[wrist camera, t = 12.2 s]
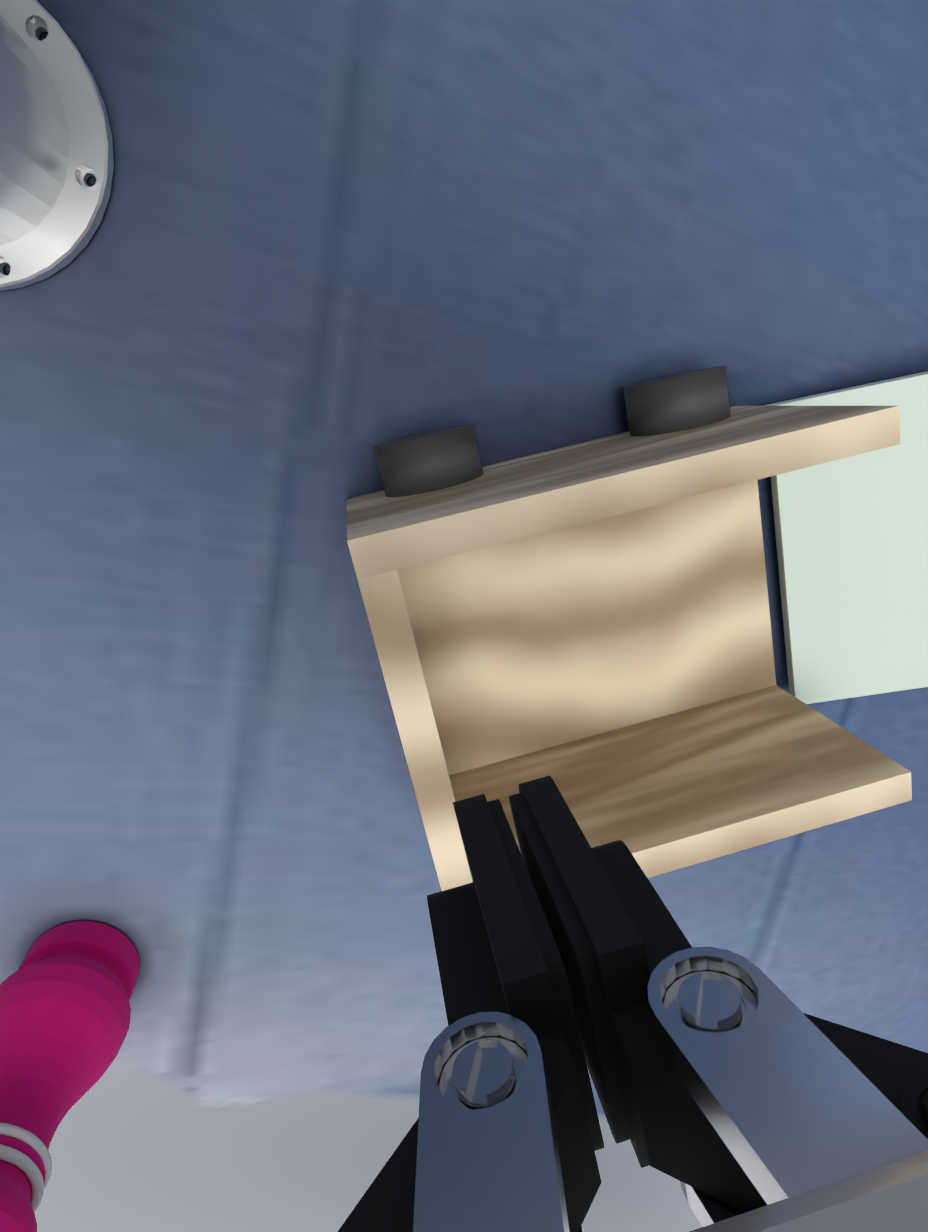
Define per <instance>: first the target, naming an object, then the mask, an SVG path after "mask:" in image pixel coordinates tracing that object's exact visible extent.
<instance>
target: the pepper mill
mask: <svg viewBox="0 0 928 1232" xmlns="http://www.w3.org/2000/svg"><path fill="white" fill-rule="evenodd" d="M139 968H140V965H139V956H138V954H137V951H136V948H135V947H134V945H133V944H132V942H131V941H130V940H129V938H128V937H126V936H125V935H124V934H123V933H121V932H120V931H119V930H118V929H115V928H113V927H111V926H109V925H106V924H102V923H98V922H94V921H74V922H69V923H65V924H61V925H59V926H56V927H54V928H52V929H50V930H48V931H47V932H45V933H44V934H43V935H41V936H40V937H39V938H38V939H37V940H36V941H35V943H34V944H33V946H32V947H31V949H30V950H29V952H28V954H27V956H26V957H25V959H24V961H23V963H22V964H21V966H20V968H19V970H18V971H16V972H15V973H13V974H12V975H11V976H9V977H8V978H7V979H6V980H5V981H4V982H3V983H2V984H1V985H0V1232H37V1223H36V1219H35V1214H34V1212H35V1210H36V1209H37V1208H38V1206H39V1204H40V1202H41V1199H42V1197H43V1191H44V1188H45V1186H46V1185H47V1183H48V1181H49V1178H50V1175H51V1170H52V1162H51V1156H50V1154H49V1151H48V1148H49V1144H50V1141H51V1140H52V1137H53V1135H54V1133H55V1131H56V1129H57V1127H58V1125H59V1123H60V1122H61V1120H62V1119H63V1117H64V1116H65V1115H66V1113H67V1112H68V1110H69V1109H70V1108H71V1107H72V1106H73V1105H74V1104H75V1103H76V1102H77V1101H78V1100H79V1099H80V1098H81V1097H82V1096H83V1095H84V1094H85V1093H86V1092H87V1091H88V1090H89V1089H90V1088H91V1087H92V1086H93V1085H94V1084H95V1083H96V1082H97V1081H98V1080H99V1079H100V1077H101V1076H102V1075H103V1074H104V1072H105V1071H106V1070H107V1068H108V1067H109V1066H110V1064H111V1063H112V1062H113V1060H114V1059H115V1057H116V1056H117V1054H118V1052H119V1049H120V1047H121V1045H122V1043H123V1041H124V1039H125V1037H126V1034H127V1031H128V1029H129V1024H130V1012H131V1010H130V1004H129V999H130V997H131V994H132V991H133V988H134V986H135V983H136V980H137V977H138V974H139Z"/></svg>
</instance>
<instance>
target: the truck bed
mask: <svg viewBox="0 0 928 1232" xmlns="http://www.w3.org/2000/svg"><path fill="white" fill-rule="evenodd" d="M623 390H624V397H625V404H626V411H627V418H628V425H629V432H624V433H620V434H616V435H612V436H608V437H604V438H599V439H595V440H591V441H587V442H583V443H579V444H574V445H570V446H566V447H562V448H558V449H553V450H549V451H545V452H541V453H537V454H533V455H528V456H524V457H520V458H516V459H512V460H508V461H503V462H499V463H495V464H491V465H487V466H482V463H481V459H480V454H479V449H478V444H477V439H476V434H475V430H474V425H473V424H467V425H460V426H454V427H449V428H444V429H439V430H434V431H429V432H425V433H420V434H416V435H412V436H408V437H404V438H400V439H396V440H393V441H389V442H386V443H382V444H379V445H377V446H375V447H374V451H375V455H376V459H377V463H378V467H379V471H380V475H381V479H382V483H383V487H384V490H382V491H378V492H374V493H370V494H366V495H361V496H357V497H353V498H349V499H346V520H347V543H348V546H349V550H350V554H351V558H352V561H353V565H354V569H355V572H356V576H357V580H358V583H359V587H360V591H361V594H362V598H363V602H364V606H365V609H366V613H367V617H368V620H369V624H370V628H371V631H372V635H373V639H374V642H375V646H376V650H377V654H378V657H379V661H380V665H381V668H382V672H383V676H384V679H385V683H386V687H387V690H388V694H389V698H390V702H391V705H392V709H393V713H394V716H395V720H396V724H397V727H398V731H399V735H400V738H401V742H402V746H403V749H404V753H405V757H406V761H407V764H408V768H409V772H410V775H411V779H412V783H413V786H414V790H415V794H416V797H417V801H418V805H419V809H420V812H421V816H422V820H423V823H424V827H425V831H426V834H427V838H428V842H429V845H430V849H431V853H432V857H433V860H434V864H435V868H436V871H437V875H438V879H439V882H440V886H441V890H442V891H445V890H448V889H452V888H455V887H459V886H462V885H465V884H469V883H472V882H473V881H472V877H471V873H470V869H469V865H468V861H467V857H466V853H465V849H464V845H463V841H462V837H461V833H460V829H459V826H458V822H457V818H456V814H455V810H454V806H453V802H456V801H460V800H463V799H467V798H470V797H474V796H478V795H481V794H485V797H486V800H487V802H489V801H493V800H496V799H499V800H500V802H501V805H502V807H503V810H504V812H505V815H506V817H507V820H508V822H509V825H510V828H511V830H512V833H513V835H514V838H515V840H516V843H517V845H518V848H519V850H520V846H519V842H518V838H517V833H516V829H515V824H514V820H513V816H512V811H511V807H510V802H509V796H511V795H514V794H518V793H519V784H520V783H524V782H528V781H531V780H535V779H538V778H542V777H545V776H549V775H550V776H551V777H552V778H553V780H554V782H555V784H556V786H557V787H558V789H559V791H560V793H561V795H562V796H563V798H564V800H565V802H566V804H567V805H568V807H569V809H570V811H571V812H572V814H573V816H574V818H575V820H576V821H577V823H578V825H579V827H580V829H581V830H582V832H583V834H584V836H585V837H586V839H587V841H588V843H589V845H590V846H591V848H593V847H596V846H600V845H603V844H607V843H610V842H614V841H617V840H621V841H623V842H624V843H625V845H626V846H627V847H628V849H629V850H630V852H631V853H632V855H633V857H634V858H635V860H636V861H637V863H638V864H639V866H640V867H641V869H642V871H643V872H644V874H645V875H646V877H647V878H650V877H653V876H657V875H660V874H663V873H667V872H670V871H673V870H677V869H680V868H684V867H687V866H690V865H694V864H697V863H700V862H704V861H707V860H711V859H714V858H717V857H721V856H724V855H727V854H731V853H734V852H738V851H741V850H744V849H748V848H751V847H754V846H758V845H761V844H765V843H768V842H771V841H775V840H778V839H782V838H785V837H788V836H792V835H795V834H798V833H802V832H805V831H809V830H812V829H815V828H819V827H822V826H825V825H829V824H832V823H836V822H839V821H842V820H846V819H849V818H852V817H856V816H859V815H863V814H866V813H869V812H873V811H876V810H879V809H883V808H886V807H890V806H893V805H896V804H900V803H903V802H906V801H910V800H912V787H911V772H910V771H909V770H907V769H906V768H904V767H903V766H901V765H900V764H898V763H896V762H895V761H893V760H892V759H890V758H889V757H887V756H886V755H884V754H882V753H881V752H879V751H878V750H876V749H875V748H873V747H872V746H870V745H869V744H867V743H865V742H864V741H862V740H861V739H859V738H858V737H856V736H855V735H853V734H852V733H850V732H848V731H847V730H845V729H844V728H842V727H841V726H839V725H838V724H836V723H834V722H833V721H831V720H830V719H828V718H827V717H825V716H824V715H822V714H821V713H819V712H817V711H816V710H814V709H813V708H811V707H810V706H808V705H807V704H805V703H804V702H802V701H800V700H799V699H797V698H796V697H794V696H793V695H791V694H790V693H788V692H786V691H785V690H783V689H782V688H780V687H779V686H777V685H776V676H775V665H774V654H773V643H772V632H771V622H770V611H769V600H768V589H767V579H766V568H765V557H764V546H763V535H762V525H761V514H760V503H759V492H758V481H757V480H759V479H763V478H767V477H771V476H775V475H779V474H783V473H787V472H791V471H795V470H799V469H803V468H807V467H811V466H815V465H819V464H823V463H827V462H831V461H835V460H839V459H843V458H847V457H851V456H855V455H859V454H863V453H867V452H871V451H875V450H879V449H883V448H887V447H891V446H895V445H899V444H900V417H899V406H733V407H730V404H729V394H728V384H727V374H726V366H719V367H712V368H706V369H700V370H694V371H689V372H684V373H679V374H674V375H669V376H665V377H660V378H656V379H652V380H647V381H643V382H639V383H636V384H632V385H629V386H626V387H624V388H623ZM520 853H521V851H520Z"/></svg>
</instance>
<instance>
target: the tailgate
mask: <svg viewBox="0 0 928 1232" xmlns="http://www.w3.org/2000/svg"><path fill="white" fill-rule="evenodd" d="M764 406H899V417H900V444H899V445H895V446H891V447H887V448H883V449H879V450H875V451H871V452H867V453H863V454H859V455H855V456H851V457H847V458H843V459H839V460H835V461H831V462H827V463H823V464H819V465H815V466H811V467H807V468H803V469H799V470H795V471H791V472H787V473H783V474H779V475H775V476H771V487H772V499H773V510H774V522H775V533H776V545H777V556H778V568H779V579H780V591H781V602H782V614H783V625H784V637H785V648H786V660H787V671H788V683H789V693H790V694H791V695H793V696H794V697H796V698H797V699H799V700H800V701H802V702H804V703H805V704H810V703H817V702H824V701H831V700H838V699H845V698H852V697H859V696H866V695H873V694H880V693H887V692H894V691H901V690H908V689H915V688H922V687H928V371H926V372H921V373H917V374H912V375H907V376H902V377H897V378H893V379H888V380H883V381H878V382H873V383H869V384H864V385H859V386H854V387H849V388H844V389H840V390H835V391H830V392H825V393H820V394H816V395H811V396H806V397H801V398H796V399H792V400H787V401H782V402H777V403H772V404H767V405H764Z"/></svg>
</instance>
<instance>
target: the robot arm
mask: <svg viewBox="0 0 928 1232" xmlns="http://www.w3.org/2000/svg"><path fill="white" fill-rule="evenodd" d="M43 32H47V33H48V35H47V37H46V38H45V39H43V40H42V41H40V39H39V36H40V34H41V33H43ZM113 170H114V160H113V140H112V133H111V129H110V124H109V120H108V116H107V111H106V107H105V104H104V101H103V99H102V96H101V94H100V92H99V89H98V87H97V84H96V82H95V79H94V77H93V74H92V73H91V71H90V69H89V68H88V66H87V64H86V63H85V61H84V59H83V58H82V56H81V54H80V53H79V51H78V49H77V48H76V46H75V45H74V43H73V42H72V41H71V40H70V38H69V37H68V36H67V34H66V33H65V32H64V31H63V29H62V28H61V26H60V25H59V24H58V22H57V21H56V20H55V19H54V18H53V17H52V16H51V15H50V14H49V13H48V12H47V11H46V10H45V9H44V8H43V7H42V6H41V5H40V4H39V3H38V2H37V1H36V0H0V291H3V290H10V289H16V288H23V287H25V286H28V285H30V284H33V283H36V282H38V281H41V280H44V279H46V278H48V277H50V276H51V275H53V274H54V273H56V272H57V271H59V270H60V269H62V268H64V267H65V266H67V265H68V264H69V263H70V262H71V261H72V260H73V259H74V258H75V257H76V256H77V255H78V254H79V253H80V252H81V251H82V250H83V249H84V248H85V247H86V246H87V245H88V243H89V241H90V240H91V238H92V236H93V235H94V233H95V231H96V230H97V228H98V226H99V225H100V223H101V221H102V218H103V215H104V212H105V209H106V206H107V203H108V200H109V198H110V193H111V185H112V178H113ZM90 176H95V177H96V180H97V181H96V183H95V185H94V186H92V187H89V186H88V185H87V179H88V177H90ZM7 264H9V265H10V268H11V271H10V273H9V275H5V274H4V272H3V268H4V266H5V265H7ZM509 802H510V807H511V811H512V816H513V820H514V824H515V829H516V833H517V838H518V842H519V846H520V850H519V848H518V845H517V843H516V840H515V838H514V835H513V833H512V830H511V828H510V825H509V822H508V820H507V817H506V815H505V812H504V810H503V807H502V805H501V802H500V800H499V799H496V800H493V801H489V802H487V800H486V797H485V794H481V795H478V796H474V797H470V798H467V799H463V800H460V801H456V802H453V806H454V810H455V814H456V818H457V822H458V826H459V829H460V833H461V837H462V841H463V845H464V849H465V853H466V857H467V861H468V865H469V869H470V873H471V877H472V881H473V882H472V883H469V884H465V885H462V886H459V887H455V888H452V889H448V890H445V891H441V892H438V893H434V894H431V895H428V896H427V900H428V907H429V913H430V919H431V925H432V930H433V936H434V942H435V948H436V954H437V960H438V966H439V972H440V978H441V984H442V990H443V996H444V1002H445V1008H446V1014H447V1020H448V1025H449V1026H448V1027H446V1028H445V1029H444V1030H443V1031H442V1032H441V1033H440V1034H439V1035H438V1036H437V1037H436V1038H435V1039H434V1041H433V1042H432V1044H431V1046H430V1048H429V1049H428V1051H427V1053H426V1055H425V1057H424V1062H423V1067H422V1071H421V1083H420V1103H419V1118H418V1119H417V1121H416V1122H415V1124H414V1125H413V1126H412V1128H411V1129H410V1131H409V1132H408V1134H407V1135H406V1136H405V1138H404V1139H403V1141H402V1142H401V1143H400V1145H399V1146H398V1148H397V1149H396V1150H395V1152H394V1153H393V1155H392V1156H391V1158H390V1159H389V1160H388V1162H387V1163H386V1165H385V1166H384V1167H383V1169H382V1170H381V1172H380V1173H379V1174H378V1176H377V1177H376V1179H375V1180H374V1182H373V1183H372V1184H371V1186H370V1187H369V1189H368V1190H367V1191H366V1193H365V1194H364V1196H363V1197H362V1198H361V1200H360V1201H359V1203H358V1204H357V1205H356V1207H355V1208H354V1210H353V1211H352V1212H351V1214H350V1215H349V1217H348V1218H347V1219H346V1221H345V1223H344V1224H343V1225H342V1226H341V1228H340V1229H339V1231H338V1232H585V1231H584V1227H583V1220H584V1218H585V1216H586V1214H587V1212H588V1210H589V1208H590V1205H591V1203H592V1201H593V1199H594V1197H595V1195H596V1193H597V1190H598V1188H599V1186H600V1184H601V1179H600V1174H599V1170H598V1165H597V1161H596V1156H595V1152H594V1151H595V1150H599V1149H601V1148H604V1143H603V1139H602V1134H601V1129H600V1125H599V1120H598V1115H597V1111H596V1106H595V1101H594V1097H593V1092H592V1087H591V1083H590V1078H589V1074H588V1070H589V1072H590V1075H591V1078H592V1080H593V1083H594V1086H595V1089H596V1091H597V1094H598V1097H599V1099H600V1102H601V1105H602V1108H603V1110H604V1113H605V1116H606V1118H607V1121H608V1124H609V1126H610V1129H611V1132H612V1134H613V1137H614V1139H615V1141H616V1143H620V1142H623V1141H626V1140H628V1139H630V1140H631V1142H632V1145H633V1148H634V1150H635V1153H636V1155H637V1158H638V1161H639V1163H640V1166H641V1167H645V1166H648V1165H650V1166H652V1167H654V1168H656V1169H658V1170H660V1171H662V1172H664V1173H666V1174H668V1175H670V1176H672V1177H674V1178H676V1179H678V1180H680V1182H681V1187H682V1190H683V1192H684V1195H685V1197H686V1199H687V1202H688V1204H689V1206H690V1208H691V1210H692V1211H693V1213H694V1215H695V1216H696V1218H697V1220H698V1221H699V1223H700V1225H701V1226H702V1228H699V1229H696V1230H693V1231H690V1232H928V1053H925V1052H922V1051H919V1050H916V1049H913V1048H910V1047H907V1046H903V1045H900V1044H897V1043H894V1042H891V1041H888V1040H885V1039H882V1038H879V1037H876V1036H873V1035H869V1034H866V1033H863V1032H860V1031H857V1030H854V1029H851V1028H848V1027H845V1026H842V1025H839V1024H835V1023H832V1022H829V1021H826V1020H823V1019H820V1018H817V1017H814V1016H811V1015H808V1014H805V1013H802V1012H801V1011H800V1010H799V1009H798V1008H797V1007H796V1006H795V1005H794V1004H793V1003H792V1002H791V1001H790V1000H789V999H788V997H787V996H786V995H785V994H784V993H783V992H782V991H781V990H780V989H779V988H778V987H777V986H776V985H775V984H774V983H773V982H772V981H771V980H770V979H769V978H768V977H767V976H766V975H765V974H764V973H763V972H762V971H761V970H760V969H759V968H758V967H756V966H755V965H754V964H752V963H751V962H750V961H749V960H747V959H746V958H745V957H742V956H740V955H738V954H735V953H733V952H731V951H728V950H725V949H719V948H713V947H693V948H692V947H691V945H690V944H689V942H688V941H687V939H686V938H685V936H684V934H683V933H682V931H681V930H680V928H679V927H678V925H677V924H676V922H675V920H674V919H673V917H672V916H671V914H670V913H669V911H668V909H667V908H666V906H665V905H664V903H663V902H662V900H661V899H660V897H659V895H658V894H657V892H656V891H655V889H654V888H653V886H652V885H651V883H650V881H649V880H648V878H647V877H646V875H645V874H644V872H643V871H642V869H641V867H640V866H639V864H638V863H637V861H636V860H635V858H634V857H633V855H632V853H631V852H630V850H629V849H628V847H627V846H626V845H625V843H624V842H623V841H621V840H617V841H614V842H610V843H607V844H603V845H600V846H596V847H593V848H591V846H590V845H589V843H588V841H587V839H586V837H585V836H584V834H583V832H582V830H581V829H580V827H579V825H578V823H577V821H576V820H575V818H574V816H573V814H572V812H571V811H570V809H569V807H568V805H567V804H566V802H565V800H564V798H563V796H562V795H561V793H560V791H559V789H558V787H557V786H556V784H555V782H554V780H553V778H552V777H551V776H550V775H549V776H545V777H542V778H538V779H535V780H531V781H528V782H524V783H520V784H519V793H518V794H514V795H511V796H509ZM520 851H521V853H520ZM587 1067H588V1069H587Z"/></svg>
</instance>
